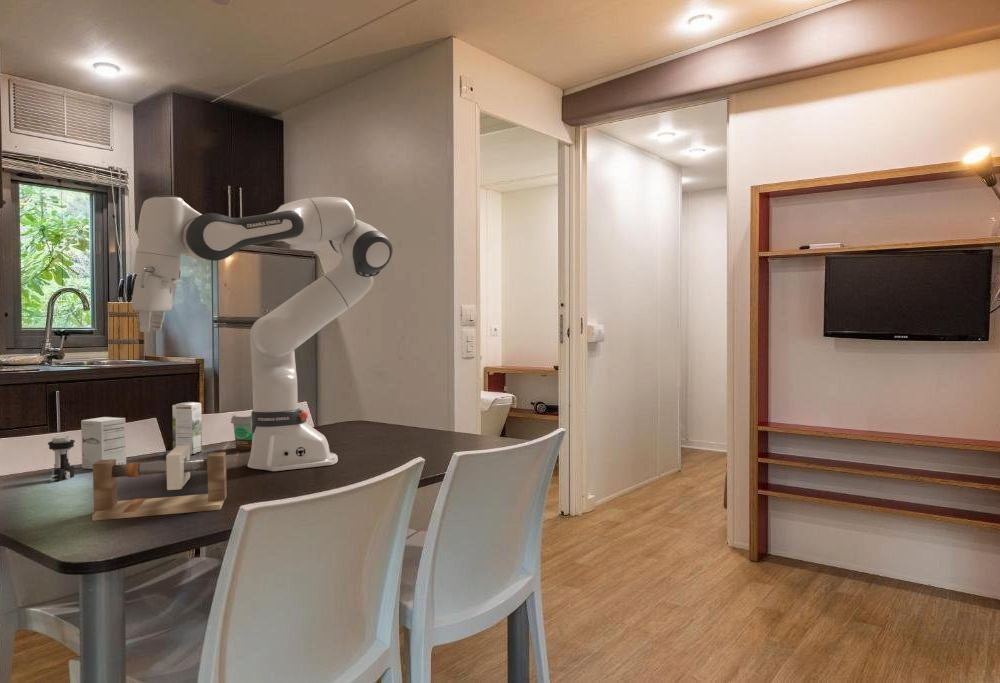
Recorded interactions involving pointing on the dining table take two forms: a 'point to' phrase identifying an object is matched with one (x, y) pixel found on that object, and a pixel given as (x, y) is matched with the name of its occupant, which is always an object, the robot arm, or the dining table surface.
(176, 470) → the collar
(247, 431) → the food container
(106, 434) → the supplement box
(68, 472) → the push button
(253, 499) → the dining table surface
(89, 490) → the dining table surface
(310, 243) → the robot arm
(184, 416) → the syrup box
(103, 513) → the rod stand
